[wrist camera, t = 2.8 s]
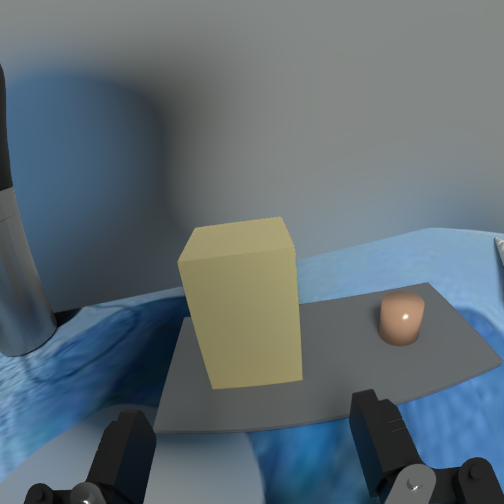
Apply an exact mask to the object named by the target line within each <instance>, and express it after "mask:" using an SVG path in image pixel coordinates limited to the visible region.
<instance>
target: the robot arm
mask: <svg viewBox="0 0 504 504" xmlns="http://www.w3.org/2000/svg"><path fill="white" fill-rule="evenodd" d="M12 186H13V182H12V177H11V171H10V159H9V150H8V142H7V128H6V88H5V78H4V73H3V69H2V67H1V65H0V351H1V353H2V354H4V355H6V356H19V355H23V354H25V353H28V352H30V351H32V350H34V349H36V348H38V347H39V346H41V345H42V344H43V343H44V342H46V341H47V340H48V339H49V338H50V337H51V336H52V334H53V333H54V331H55V330H56V327H57V321H56V318H55V316H54V314H53V312H52V309H51V307H50V304H49V302H48V300H47V297H46V294H45V292H44V289H43V286H42V284H41V281H40V278H39V276H38V273H37V270H36V267H35V264H34V261H33V258H32V255H31V252H30V249H29V246H28V243H27V239H26V236H25V232H24V229H23V225H22V221H21V217H20V213H19V210H18V206H17V201H16V197H15V192H14V188H13V187H12ZM349 423H350V429H351V432H352V436H353V439H354V442H355V446H356V449H357V452H358V456H359V459H360V463H361V466H362V469H363V473H364V476H365V480H366V483H367V487H368V491H369V494H370V498H372V497H376V496H379V498H380V502H381V504H504V494H503V492H502V489H501V487H500V485H499V482H498V480H497V477H496V475H495V473H494V471H493V468H492V466H491V464H490V463H489V462H488V461H487V460H485V459H483V458H479V457H475V458H471V459H469V460H467V461H466V462H464V464H463V465H462V466H461V467H454V468H446V469H434V468H431V467H429V466H427V465H426V464H424V463H423V462H422V460H421V459H420V457H419V454H418V452H417V450H416V447H415V445H414V443H413V441H412V438H411V436H410V434H409V432H408V429H407V428H406V425H405V423H404V421H403V420H402V416H401V414H400V412H399V410H398V408H397V406H396V405H394V404H393V403H392V402H391V401H390V400H389V399H383V400H378V398H377V396H376V393H375V391H374V390H373V389H368V390H363V391H359V392H354V393H353V394H352V400H351V408H350V415H349ZM155 448H156V435H155V432H154V430H153V429H152V427H151V425H150V424H149V422H148V420H147V419H146V417H145V415H144V414H143V412H142V411H140V410H122V411H121V413H120V415H119V418H118V421H112V422H111V424H110V425H109V426H108V427H107V428H106V429H105V430H104V433H103V436H102V438H101V442H100V444H99V447H98V450H97V452H96V454H95V457H94V460H93V463H92V465H91V468H90V471H89V474H88V477H87V479H86V481H85V482H82V483H79V484H77V485H76V486H75V487H74V488H73V489H72V490H52V489H51V488H50V487H49V486H47V485H46V484H42V483H38V484H35V485H33V486H32V487H31V488H30V489H29V490H28V493H27V495H26V499H25V501H24V504H143V502H144V497H145V492H146V487H147V483H148V478H149V473H150V470H151V465H152V461H153V456H154V452H155Z"/></svg>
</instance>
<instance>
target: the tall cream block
mask: <svg viewBox="0 0 504 504" xmlns="http://www.w3.org/2000/svg"><path fill="white" fill-rule="evenodd" d="M178 266H179V270H180V275H181V279H182V283H183V287H184V291H185V295H186V299H187V302H188V306H189V310H190V314H191V318H192V321H193V325H194V328H195V332H196V336H197V339H198V343H199V346H200V350H201V353H202V356H203V360H204V363H205V366H206V370H207V373H208V376H209V379H210V382H211V386H212V389H225V388H238V387H249V386H259V385H268V384H277V383H285V382H292V381H299V380H303V377H302V353H301V334H300V316H299V300H298V285H297V272H296V260H295V247H294V245H293V242H292V240H291V238H290V235H289V233H288V231H287V228H286V226H285V224H284V221H283V219H282V217H274V218H265V219H257V220H250V221H242V222H234V223H227V224H220V225H212V226H205V227H198V228H195V229H194V231H193V233H192V235H191V237H190V239H189V241H188V243H187V245H186V246H185V248H184V250H183V252H182V254H181V256H180V258H179V260H178Z"/></svg>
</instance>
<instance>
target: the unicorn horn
mask: <svg viewBox="0 0 504 504" xmlns="http://www.w3.org/2000/svg"><path fill="white" fill-rule="evenodd" d="M495 242H496V246H497V249H498V252H499V254H500V258H501V261H502V263H503V266H504V241H503V240H502V239H500V238H498V237H495Z"/></svg>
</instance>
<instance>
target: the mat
mask: <svg viewBox="0 0 504 504" xmlns="http://www.w3.org/2000/svg"><path fill="white" fill-rule="evenodd" d="M394 291H408V292H412V293H415V294H417V295H419V296H420V297H421V298H422V299H423V300H424V303H425V306H424V311H423V317H422V322H421V327H420V332H419V337H418V339H417V340H416V341H415V342H414V343H412V344H410V345H406V346H394V345H390V344H388V343H386V342H384V341H383V340H382V339H381V338H380V336H379V323H380V314H381V303H382V298H383V297H384V296H385V295H386V294H388V293H391V292H394ZM299 316H300V334H301V353H302V377H303V380H299V381H292V382H285V383H277V384H268V385H259V386H249V387H238V388H225V389H212V386H211V382H210V379H209V376H208V373H207V370H206V366H205V363H204V360H203V356H202V353H201V350H200V346H199V343H198V339H197V336H196V332H195V328H194V325H193V321H192V318H191V317H184V321H183V324H182V327H181V330H180V334H179V337H178V340H177V344H176V347H175V351H174V354H173V358H172V361H171V364H170V368H169V371H168V375H167V379H166V382H165V386H164V389H163V393H162V397H161V400H160V404H159V408H158V411H157V415H156V419H155V423H154V427H153V430H154V432H155V433H166V434H219V433H239V432H253V431H264V430H274V429H282V428H290V427H297V426H304V425H310V424H316V423H322V422H328V421H333V420H338V419H343V418H348V417H349V415H350V408H351V400H352V394H353V393H354V392H359V391H363V390H368V389H373V390H374V391H375V393H376V396H377V398H378V400H383V399H389V400H390V401H391V402H392V403H393V404H394V405H399V404H402V403H405V402H409V401H412V400H415V399H418V398H421V397H424V396H427V395H430V394H433V393H436V392H438V391H441V390H444V389H447V388H449V387H452V386H454V385H457V384H459V383H462V382H464V381H467V380H469V379H471V378H474V377H476V376H478V375H481V374H483V373H485V372H487V371H489V370H492V369H494V368H496V367H498V366H500V365H502V363H503V360H502V359H501V358H500V356H499V355H498V354H497V353H496V352H495V351H494V350H493V349H492V347H491V346H490V345H489V344H488V343H487V342H486V341H485V340H484V339H483V338H482V336H481V335H480V334H479V333H478V332H477V331H476V330H475V329H474V328H473V327H472V326H471V325H470V324H469V323H468V322H467V321H466V320H465V319H464V317H463V316H462V315H461V314H460V313H459V312H458V311H457V310H456V309H455V308H454V307H453V306H452V305H451V304H450V303H449V302H448V301H447V300H446V299H445V298H444V297H443V296H442V295H440V294H439V293H438V292H437V291H436V290H435V289H434V288H433V287H432V286H431V285H430V284H429V283H428V282H426V283H421V284H416V285H411V286H406V287H401V288H396V289H391V290H385V291H380V292H374V293H369V294H363V295H357V296H351V297H345V298H339V299H332V300H326V301H319V302H312V303H306V304H299Z"/></svg>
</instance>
